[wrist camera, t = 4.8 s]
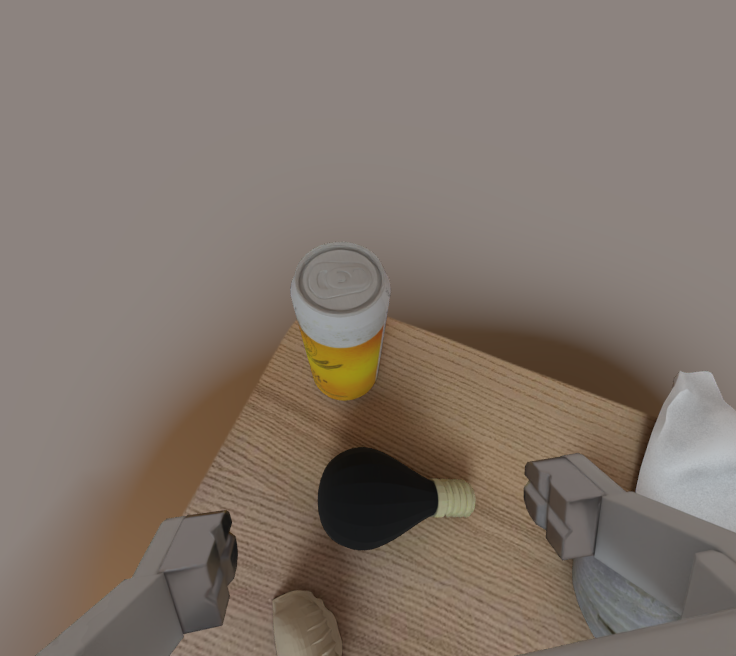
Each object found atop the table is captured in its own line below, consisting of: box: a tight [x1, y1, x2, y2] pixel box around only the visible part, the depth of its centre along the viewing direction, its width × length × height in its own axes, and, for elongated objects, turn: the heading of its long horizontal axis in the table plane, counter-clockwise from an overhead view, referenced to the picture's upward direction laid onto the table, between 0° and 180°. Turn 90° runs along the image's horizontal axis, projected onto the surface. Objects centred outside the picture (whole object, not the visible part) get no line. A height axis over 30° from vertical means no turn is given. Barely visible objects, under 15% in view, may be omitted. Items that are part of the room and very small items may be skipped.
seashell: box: [572, 555, 681, 638], centre depth 24 cm, size 12×8×5 cm
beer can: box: [290, 242, 391, 401], centre depth 27 cm, size 6×6×15 cm
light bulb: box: [318, 447, 475, 550], centre depth 26 cm, size 7×7×12 cm
